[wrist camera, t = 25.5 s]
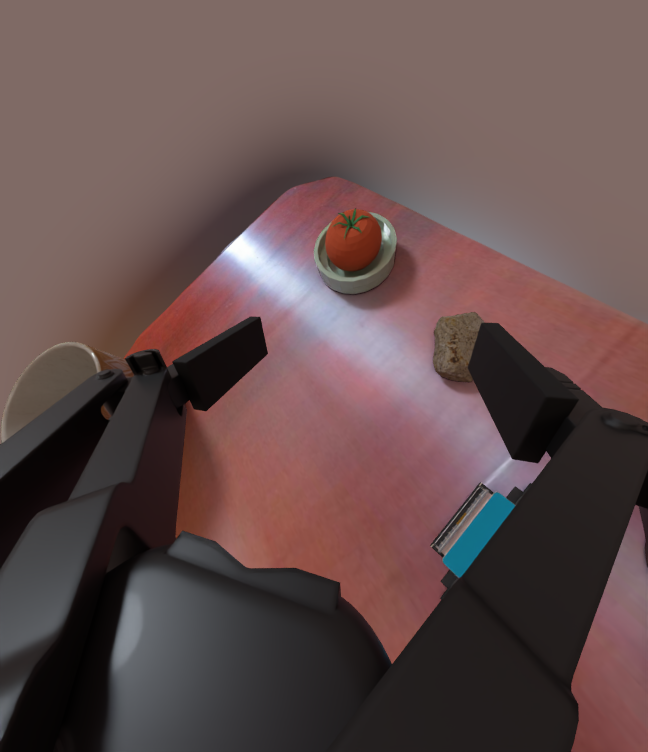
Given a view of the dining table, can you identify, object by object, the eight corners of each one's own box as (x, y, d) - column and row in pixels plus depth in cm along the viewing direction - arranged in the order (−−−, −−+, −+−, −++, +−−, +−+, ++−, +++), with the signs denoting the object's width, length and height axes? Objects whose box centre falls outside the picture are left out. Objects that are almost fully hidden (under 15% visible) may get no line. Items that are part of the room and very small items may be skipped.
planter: (150, 355, 54) (56, 323, 38) (206, 393, 48) (123, 373, 32) (101, 429, 52) (-18, 427, 36) (154, 479, 46) (38, 502, 30)
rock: (429, 380, 38) (435, 374, 34) (431, 319, 41) (436, 306, 36) (481, 384, 36) (494, 378, 32) (480, 319, 39) (492, 306, 35)
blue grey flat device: (493, 651, 29) (499, 664, 27) (411, 568, 33) (413, 575, 31) (588, 526, 30) (600, 531, 28) (498, 459, 33) (504, 460, 32)
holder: (411, 255, 44) (415, 236, 40) (354, 309, 44) (352, 296, 40) (356, 219, 49) (354, 199, 45) (305, 268, 49) (298, 252, 45)
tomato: (386, 274, 44) (388, 231, 35) (334, 288, 46) (322, 250, 37) (376, 232, 47) (375, 182, 37) (327, 246, 49) (315, 201, 39)
